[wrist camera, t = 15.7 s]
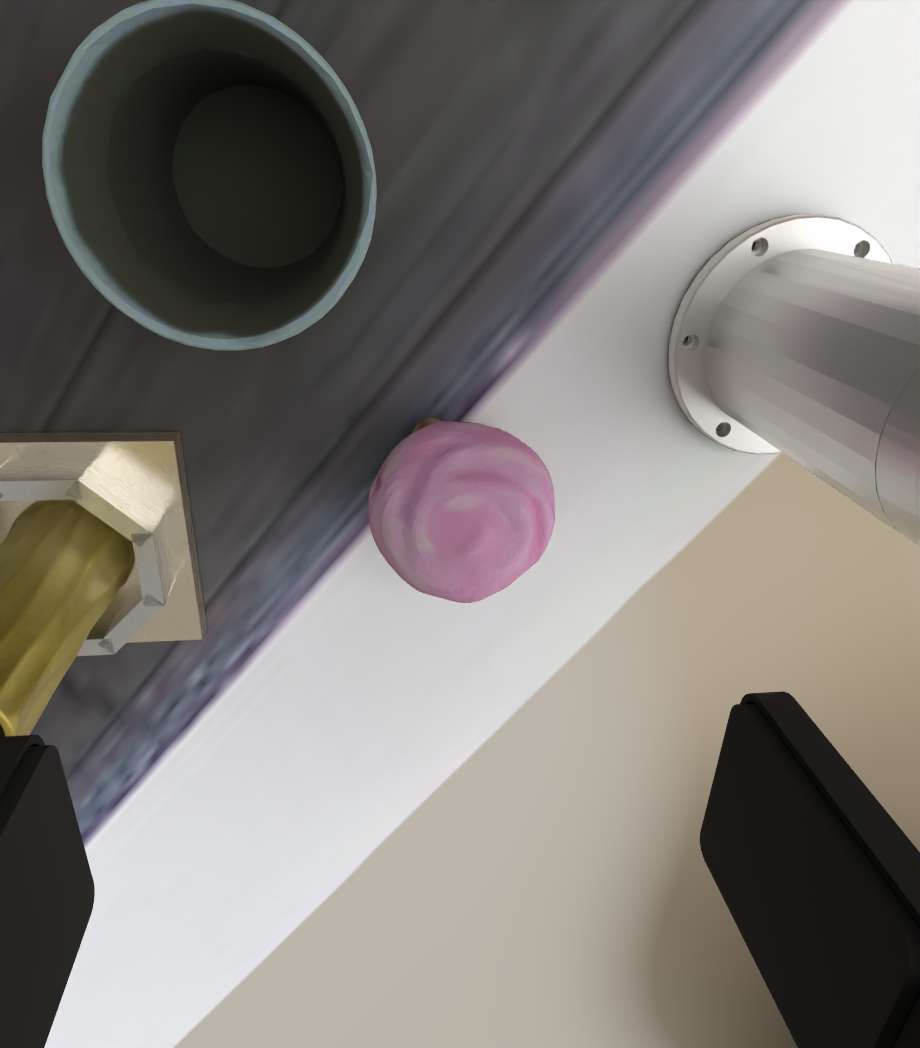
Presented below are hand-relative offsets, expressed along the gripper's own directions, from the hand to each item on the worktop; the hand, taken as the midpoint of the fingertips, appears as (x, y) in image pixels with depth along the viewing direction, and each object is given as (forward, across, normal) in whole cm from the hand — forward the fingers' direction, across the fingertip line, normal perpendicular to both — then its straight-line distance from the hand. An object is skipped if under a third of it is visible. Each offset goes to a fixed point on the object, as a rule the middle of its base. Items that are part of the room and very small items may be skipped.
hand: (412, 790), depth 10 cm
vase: (+29, +16, +11) cm, 35 cm away
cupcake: (+31, -4, +7) cm, 32 cm away
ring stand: (+30, +16, +11) cm, 36 cm away
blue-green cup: (+31, +5, -7) cm, 32 cm away
